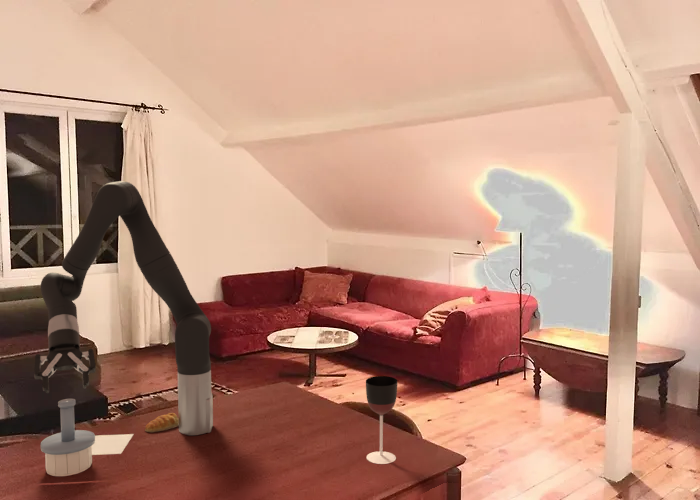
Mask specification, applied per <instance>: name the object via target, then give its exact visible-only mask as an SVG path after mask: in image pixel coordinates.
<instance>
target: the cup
mask: <svg viewBox="0 0 700 500" xmlns="http://www.w3.org/2000/svg"><path fill="white" fill-rule="evenodd" d="M44 454H45V455H44V457H45V458H44V459H45V470H46V471H45V472H46V473H47V475H50V476H53V477H67V476H72V475H77V474H80V473H83V472H84V471H86V470H88V469H89V468H90V467H91V466H92V463H93V455H92V446H90V447H88V448H86V449H84V450H81V451H78V452H74V453H70V454H62V455H51V454H46V453H44Z"/></svg>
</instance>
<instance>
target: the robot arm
mask: <svg viewBox="0 0 700 500" xmlns="http://www.w3.org/2000/svg"><path fill="white" fill-rule="evenodd" d="M119 217H120V219H121V220H122V222H123V223H124V225H125V226H126V228H127V230H128V232H129V235H130V238H131V242H132V248H133V249H132V250H133V254H134V259H135V262H136V264H137V267H138V269H139V270H140V272H141V273H142V275H143V278H144V279H145V280H146V282H147V283H148V285H149V286H150V288H152V290H153V291H154V292H155V293H156V294H157V296H159V298H161V299H162V301H163V302H164V303H165V304H166V305H167V307H168V309H169V310H170V313H171V314H172V316H173V318H174V321H175V323H176V326H175V332H174V348H175V349H174V351H175V362H176V363H175V364H176V367H177V404H178V405H177V407H178V408H177V412H178V413H177V414H178V415H177V418H178V419H179V423H178V425H179V426H178V431H179V433H180V434H183V435H186V436H199V435H203V434H206V433H208V434H210V433H211V432H212V429H213V426H214V408H213V407H214V405H213V402H214V401H213V398H214V397H213V393H212V361H211V357H210V337H211V336H210V335H211V332H212V325H211V322H210V320H209V318H208V317H207V315H206V314H205V313H204V311H203V310H202V308H201V307H200V305H199V304H198V303H197V302H196V300H195V298H194V297H193V295H192V293H191V292H190V289H189V287H188V285H187V283H186V280H185V279H184V277H183V275H182V273H181V271H180V268H179V267H178V265H177V262H176V261H175V259H174V257H173V256H172V254H171V252H170V251H169V248H167V245H166V243H165V242H164V240H163V238H162V237H161V234H160V233H159V231H158V230H157V227H156V226H155V224H154V223H153V220H152V219H151V216H150V215H149V212H148V209H147V207H146V205H145V203H144V200H143V198H142V196H141V193H140V191H139V190H138V189H137V187H136V186H135V185H134V184H133V183H130V182H128V181H125V180H124V181H122V180H119V181H112V182H107V183H106V184H104V185H102V186H101V187H100V188H99V190H98V191H97V193H96V195H95V198H94V200H93V202H92V205H91V208H90V210H89V213H88V215H87V217H86V219H85V222H84V224H83V226H82V228H81V229H80V231H79V233H78V236H77V237H76V238H75V240H74V242H73V244H72V245H71V246H70V248H69V250H68V252H66V254H65V257H64V258H63V260H62V262H61V267H62V269H63V270H64V271H65V272H66V273H68V274H69V275H66V274H62V273H59V272H49V273H47V274H45V275H44V276H43V278H42V279H41V281H40V293H41V296H42V299H43V302H44V304H45V306H46V309H47V311H48V327H47V339H48V342H47V343H48V346H47V347H48V354H47V355H41V354H39V353H38V354H35V355H34V368H33V371H34V372H33V373H34V374H33V375H34V376H33V377H34V379H35V380H41V381H42V391H43V392H45V393H46V394H49V393H50V381H49V380H50V379H49V378H51V376H53V375H54V374H55V373H56V371H59V372H61V371H65V370H66V371H67V370H68V371H70V370H73V369H75V371H77V372H79V373H81V374H82V376H81V378H82V388H83V389H87V387H89V385H90V378H89V377H90V376H89V375H90V374H94V373H96V367H97V366H96V359H95V353H94V349H92V348H90V349H88V350H87V351H82V350H81V343H80V342H81V341H80V328H79V327H80V326H79V323H78V311H77V306H76V303H75V302H74V301H75V300H77V299H78V298H80V296H81V294H82V290H83V286H84V282H85V279H86V276H87V273H88V271H89V270H90V268H91V266H92V265H93V263H94V262H95V260H96V259H97V256H98V255H99V252H100V250H101V247H102V243H103V241H104V237H105V235H106V233H107V232H108V230H109V228H110V227H111V225H112V224H113V223H114V222H115V221H117V219H118V218H119ZM71 275H72V276H71ZM83 358H85V360H87V361H88V364H89V366H86V365H85V364H84V363H83V361H82V359H83ZM45 362H47V363H48V365H47V366H46V369H45V370H44V371H41V366H42V365H44V364H45Z"/></svg>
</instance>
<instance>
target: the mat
mask: <svg viewBox="0 0 700 500" xmlns="http://www.w3.org/2000/svg"><path fill="white" fill-rule="evenodd" d="M134 434H135V433H129V434H128V433H127V434H124V433H123V434H101V435H99V434H98V435H95V443H94V444H93V445H92V456H99V455H102V456H103V455H121V454H122V453H123V451H124V450H125V448H126V447H127V445H128V444H129V443H130V441H131V439H132V438H133V437H134Z"/></svg>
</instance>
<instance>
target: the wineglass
mask: <svg viewBox="0 0 700 500" xmlns="http://www.w3.org/2000/svg"><path fill="white" fill-rule="evenodd" d="M365 392H366V393H365V394H366V400H367V401H366V402H367V405H368V407H369V408H370V410H371V411H372V412H374V413H376V414H377V415H379V451H373V452H370V453H368V454H367V455H366V461H368V462H369V463H373V464H378V465H385V464H390V463H393V462H395V461H396V459H397V457H396V455H395V454H394V453H392V452H388V451H383V449H384V448H383V447H384V444H383V443H384V442H383V441H384V440H383V439H384V435H383V433H384V415H385V414H387V413H389V412H390V411H392V410H393V408H394V407H395V405H396V402H397V401H396V400H397V395H398V379H396V378H395V377H392V376H387V375H377V376H370V377H368V378H366V380H365Z"/></svg>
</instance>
